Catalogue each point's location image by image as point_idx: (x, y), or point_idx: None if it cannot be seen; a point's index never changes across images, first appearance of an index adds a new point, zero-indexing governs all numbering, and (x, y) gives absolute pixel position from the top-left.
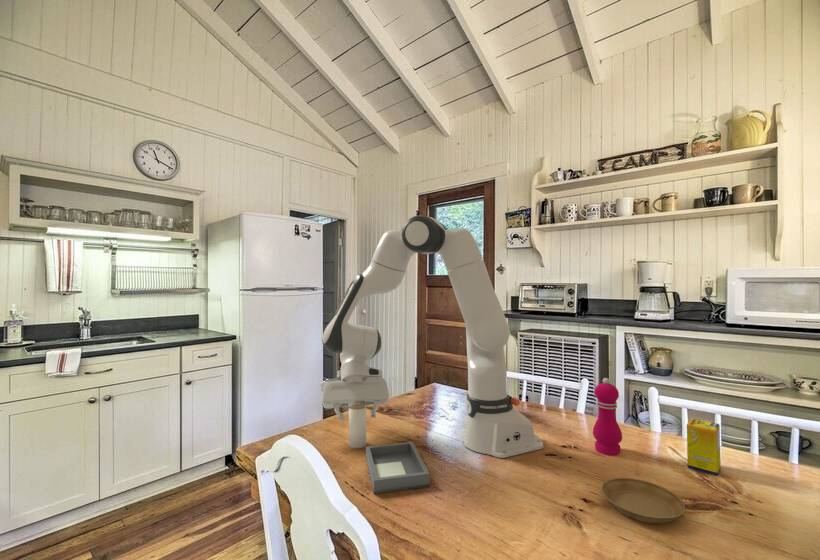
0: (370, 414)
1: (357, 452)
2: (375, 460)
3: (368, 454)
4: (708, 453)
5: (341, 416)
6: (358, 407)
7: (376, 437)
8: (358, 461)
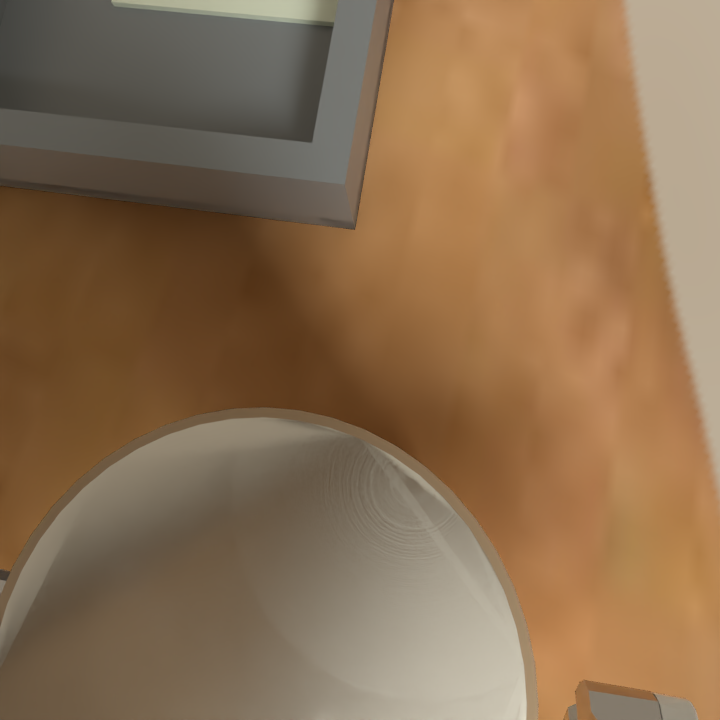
0: None
1: (403, 371)
2: (298, 104)
3: (366, 9)
4: None
5: (635, 716)
6: (288, 411)
7: None
8: (435, 190)
